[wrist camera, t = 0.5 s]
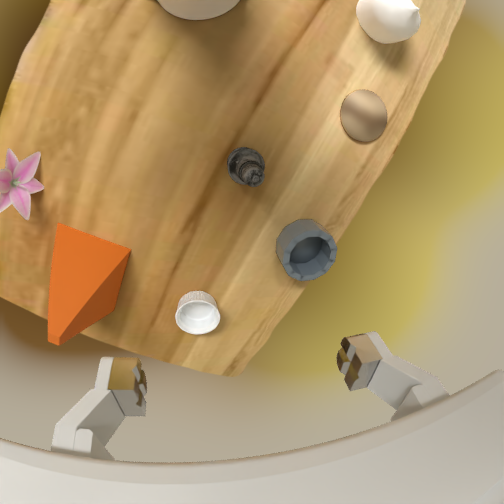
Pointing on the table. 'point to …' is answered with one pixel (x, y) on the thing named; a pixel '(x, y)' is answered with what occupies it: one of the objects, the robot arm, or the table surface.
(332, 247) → the grey faceted cup
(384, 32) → the teardrop
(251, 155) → the grey chess piece
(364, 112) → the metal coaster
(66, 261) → the pyramid
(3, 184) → the lily
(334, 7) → the table surface
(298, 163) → the table surface
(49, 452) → the robot arm
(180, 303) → the ramekin
